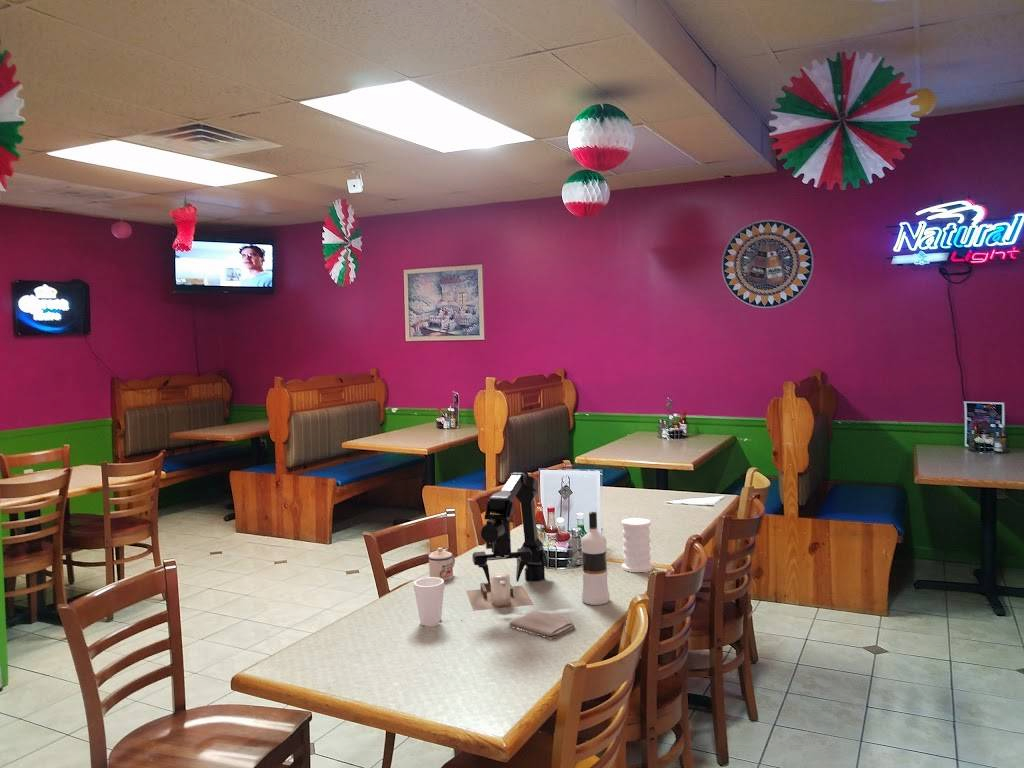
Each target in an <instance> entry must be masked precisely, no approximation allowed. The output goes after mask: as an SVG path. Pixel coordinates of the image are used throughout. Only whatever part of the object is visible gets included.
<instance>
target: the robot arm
mask: <svg viewBox="0 0 1024 768" xmlns="http://www.w3.org/2000/svg"><path fill="white" fill-rule="evenodd" d="M538 489H539V482H538V480H537V479H536V478H535V477H533V476H530V475H527V474H526V473H524V472H519V471H518V472H514V471H513V472H511V473H510V474H509V478H508V480H506V483H504V485H503V487H502V488H501V490H500V491H498V492H497V491H496V492H495V493H493V494H492V495H491V496H490V497H489V499H488V500H487V504H486V507H485V508H486V509H485V514H484V518H483V519H484V520H486V525H484V526H483V527H482V528H481V531H480V535H481V538H482V540H483V541H484V542H485V549H486V550H491V553H490V554H486V552H485V551H476V552H475V551H474V552H473V553H472V557H471V558H472V562H473V565H474V566H478V568H482V570H483V574H484V575H485V578H486V580H487V583H488V584H490V582H491V580H490V572H489V565H488V561H496V560H497V561H498V560H507V559H509V560H510V559H516V570H515V571H516V573H515V579H516V580H515V581H516V582H517V583H518V582H519V580H520V577H521V575H522V572H523V570H524V580H525V581H526V582H539V581H540V582H541V581H544V580H545V579H546V577H545V572H546V571H545V567H547V566H549V557H548V554H547V553H546V551H545V549H544V544H543V542H542V541H541V540H540V538H539V537H538V528H537V519H536V517H537V516H536V510H535V509H536V508H535V499H536V496H537V495H538ZM515 498H516V499H517V500H518V502H519V503H520V509H521V518H522V528H523V536H524V537H523V538H524V542H523V544H522V545H521V546H520V548H517V550H516V551H513V552H512V544H511V543H512V541H511V520H510V518H511V517H512V514H513V510H514V506H515V504H514V499H515ZM524 567H525V568H524Z"/></svg>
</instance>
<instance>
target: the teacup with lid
mask: <svg viewBox="0 0 1024 768" xmlns="http://www.w3.org/2000/svg"><path fill="white" fill-rule="evenodd" d="M427 559H428V567H429V577H437V578H441V579H443V580H444V581H451V580H453V578H454V569H453V568H454V567H455V564H456V557H455V556H453V553H452V552H450V551H446V549H445V550H444V548H443V547H437V550H435V551H433V552H432V553H429V555H428V557H427Z"/></svg>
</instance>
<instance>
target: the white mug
mask: <svg viewBox="0 0 1024 768" xmlns="http://www.w3.org/2000/svg"><path fill="white" fill-rule="evenodd" d="M489 577H490V582H491V603H492V604H493V605H497V606H503V605H508V604H510V603H511V596H510V584H511V576H510V574H509V573H508V572H507V573H506V572H495V573H492V574H491V575H489Z"/></svg>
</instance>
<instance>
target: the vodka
mask: <svg viewBox="0 0 1024 768" xmlns="http://www.w3.org/2000/svg"><path fill="white" fill-rule="evenodd" d="M597 517H598V515H597V512H596V511H589V512H588V522H589V523H588V525H589V527H588V528H589V531H588V532H587V533H586V534H584V535H582V537H581V540H580V543H581V555H582V556H581V557H582V571H581V574H582V590H581V591H582V593H581V601H582V602H583V603H585V604H586V605H589V604H590V605H589V606H602V604H603V605H605V603H606V604H607V603H609V601H610V598H611V597H610V596H611V595H610V592H609V586H608V573H609V572H608V568H607V567H608V564H607V562H608V561H607V550H608V549H607V538H606V537H605V535H604V534H602V533H600V532H599V531H598V519H597Z"/></svg>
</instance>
